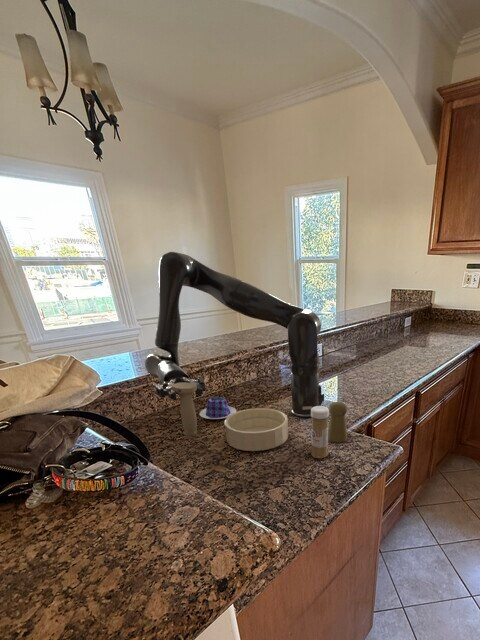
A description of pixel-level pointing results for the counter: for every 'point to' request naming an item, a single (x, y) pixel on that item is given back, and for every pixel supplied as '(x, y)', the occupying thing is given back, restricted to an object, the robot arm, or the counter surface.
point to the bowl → (256, 429)
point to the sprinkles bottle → (319, 431)
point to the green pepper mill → (337, 422)
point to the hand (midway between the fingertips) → (187, 394)
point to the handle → (187, 407)
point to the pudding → (217, 409)
